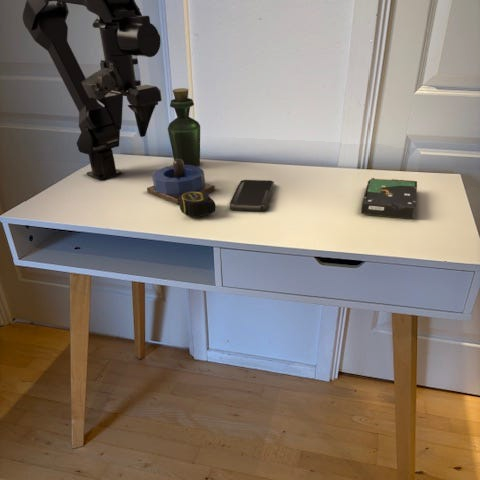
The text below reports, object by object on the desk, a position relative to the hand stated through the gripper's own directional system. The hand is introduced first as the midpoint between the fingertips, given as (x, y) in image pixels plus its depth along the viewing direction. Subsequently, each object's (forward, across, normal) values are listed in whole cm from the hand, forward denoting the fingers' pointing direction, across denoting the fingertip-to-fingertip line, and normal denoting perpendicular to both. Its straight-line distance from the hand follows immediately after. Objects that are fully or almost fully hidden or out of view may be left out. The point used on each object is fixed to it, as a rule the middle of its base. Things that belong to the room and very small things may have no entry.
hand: (130, 133), depth 109 cm
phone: (+12, +26, +12) cm, 31 cm away
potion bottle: (+12, -2, +17) cm, 21 cm away
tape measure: (+12, +23, -1) cm, 26 cm away
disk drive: (+12, +50, +28) cm, 59 cm away
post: (+12, +11, +4) cm, 17 cm away
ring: (+11, +10, +4) cm, 16 cm away
